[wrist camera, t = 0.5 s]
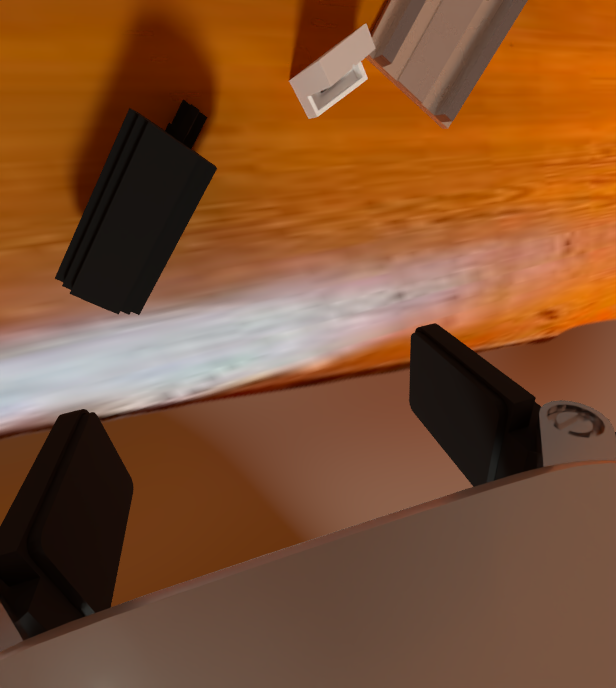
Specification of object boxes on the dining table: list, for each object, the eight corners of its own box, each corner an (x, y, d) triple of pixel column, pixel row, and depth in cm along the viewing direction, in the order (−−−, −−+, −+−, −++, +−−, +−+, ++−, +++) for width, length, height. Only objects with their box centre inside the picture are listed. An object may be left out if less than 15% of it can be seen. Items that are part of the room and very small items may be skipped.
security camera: (228, 134, 36) (238, 131, 27) (146, 290, 40) (133, 329, 32) (159, 82, 32) (145, 61, 24) (79, 258, 37) (44, 292, 29)
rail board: (442, 128, 41) (465, 127, 37) (360, 53, 35) (378, 43, 32) (541, -33, 36) (577, -51, 32) (464, -148, 30) (497, -184, 27)
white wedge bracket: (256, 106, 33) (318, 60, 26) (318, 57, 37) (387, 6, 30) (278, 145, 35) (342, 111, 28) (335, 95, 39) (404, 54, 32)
